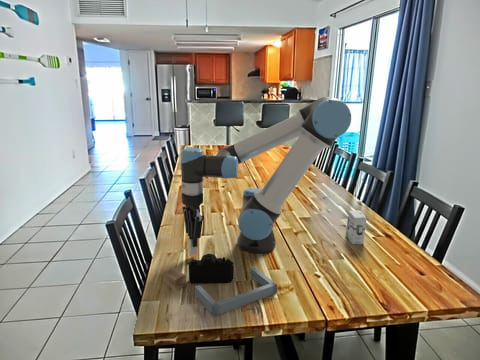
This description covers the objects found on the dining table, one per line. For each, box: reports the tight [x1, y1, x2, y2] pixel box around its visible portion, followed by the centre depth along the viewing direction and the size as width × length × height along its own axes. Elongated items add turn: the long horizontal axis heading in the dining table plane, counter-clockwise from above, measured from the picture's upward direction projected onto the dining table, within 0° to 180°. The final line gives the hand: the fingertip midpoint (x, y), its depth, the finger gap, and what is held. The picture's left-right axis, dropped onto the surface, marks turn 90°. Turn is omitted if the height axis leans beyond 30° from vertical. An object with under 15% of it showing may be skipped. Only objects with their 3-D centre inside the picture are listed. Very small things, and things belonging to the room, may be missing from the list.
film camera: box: [186, 253, 235, 285], centre depth 117 cm, size 15×10×9 cm, turn 92°
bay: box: [194, 266, 278, 317], centre depth 108 cm, size 22×12×3 cm, turn 123°
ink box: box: [345, 209, 367, 245], centre depth 146 cm, size 9×5×12 cm, turn 2°
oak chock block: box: [163, 267, 187, 292], centre depth 112 cm, size 4×6×4 cm, turn 45°
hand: (193, 253), depth 130 cm, fingers closed
